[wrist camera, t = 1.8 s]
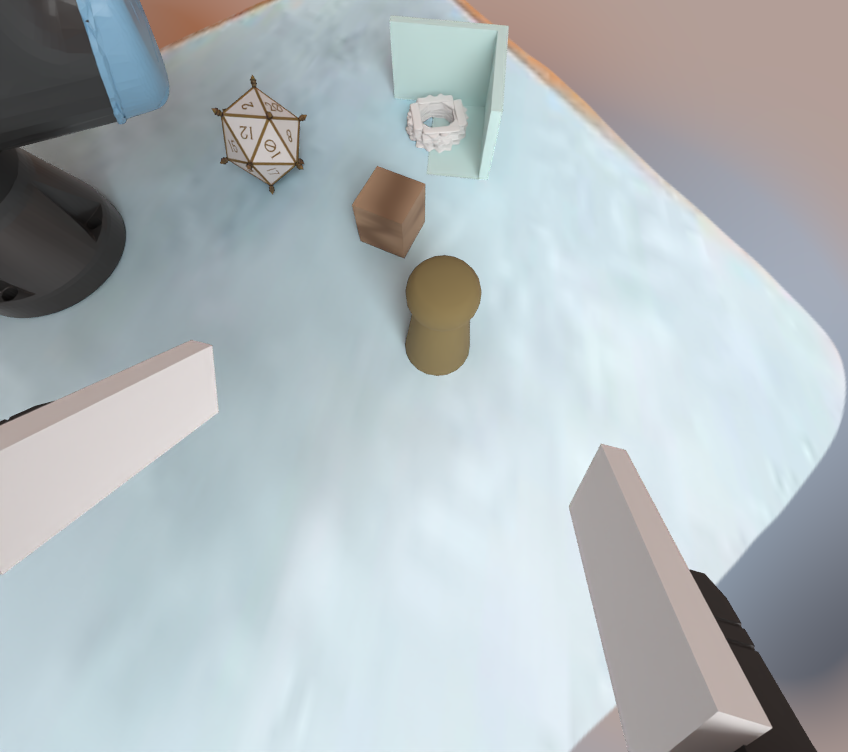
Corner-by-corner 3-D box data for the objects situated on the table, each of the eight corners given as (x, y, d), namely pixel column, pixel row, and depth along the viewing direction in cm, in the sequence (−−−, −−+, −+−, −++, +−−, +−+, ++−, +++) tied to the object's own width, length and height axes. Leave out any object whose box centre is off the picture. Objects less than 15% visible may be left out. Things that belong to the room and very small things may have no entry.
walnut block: (360, 241, 37) (352, 204, 32) (382, 206, 39) (377, 166, 34) (404, 258, 37) (401, 224, 32) (424, 222, 38) (425, 184, 33)
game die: (286, 186, 44) (270, 80, 38) (331, 197, 40) (321, 80, 34) (211, 192, 38) (179, 68, 32) (254, 205, 34) (227, 66, 28)
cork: (444, 304, 35) (454, 225, 24) (482, 352, 33) (510, 290, 23) (392, 337, 34) (380, 269, 23) (429, 388, 32) (433, 339, 22)
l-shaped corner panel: (395, 93, 44) (390, 15, 36) (494, 102, 43) (508, 25, 36) (380, 169, 40) (371, 99, 33) (487, 180, 40) (502, 112, 33)
